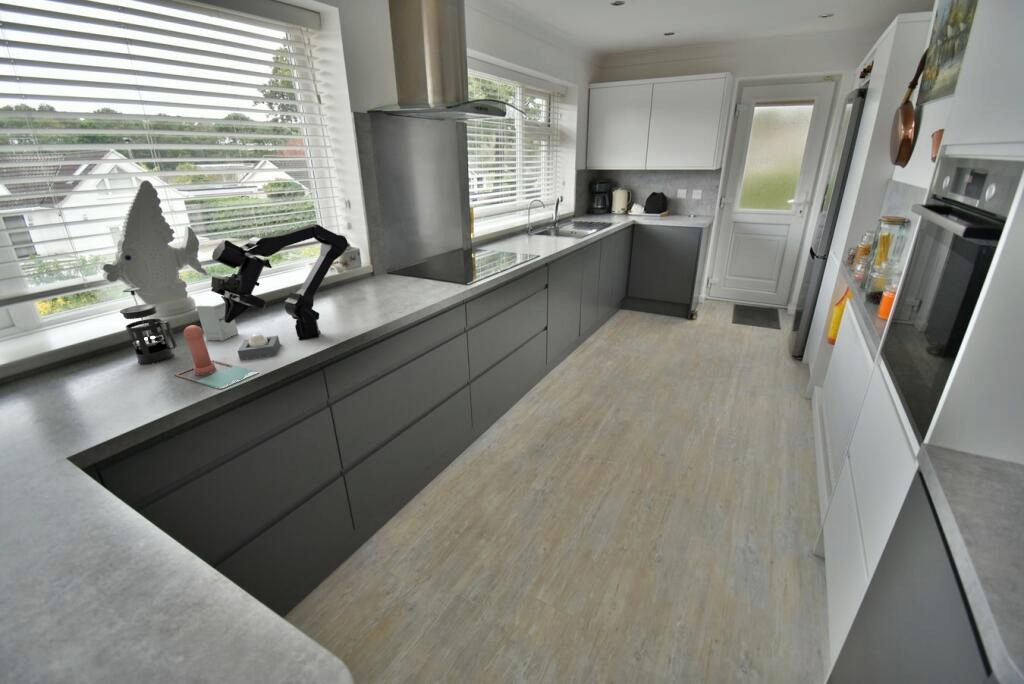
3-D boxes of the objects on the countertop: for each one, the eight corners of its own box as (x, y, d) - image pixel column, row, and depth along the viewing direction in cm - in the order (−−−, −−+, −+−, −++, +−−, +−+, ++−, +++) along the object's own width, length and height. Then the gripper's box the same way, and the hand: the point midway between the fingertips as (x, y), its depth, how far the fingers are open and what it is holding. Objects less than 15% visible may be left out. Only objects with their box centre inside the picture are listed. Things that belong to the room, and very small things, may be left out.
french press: (129, 366, 140) (101, 294, 132) (144, 355, 149) (118, 286, 140) (173, 361, 143) (148, 290, 134) (184, 350, 151) (162, 282, 143)
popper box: (280, 343, 153) (277, 335, 152) (275, 354, 144) (272, 346, 143) (247, 348, 151) (244, 339, 150) (240, 359, 142) (237, 351, 141)
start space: (213, 360, 142) (213, 360, 142) (235, 366, 137) (235, 365, 137) (174, 375, 133) (174, 374, 133) (197, 382, 128) (196, 381, 128)
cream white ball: (270, 344, 150) (266, 330, 148) (267, 350, 145) (263, 335, 144) (252, 346, 149) (248, 332, 147) (249, 352, 144) (245, 338, 142)
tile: (234, 367, 137) (234, 365, 137) (258, 373, 132) (257, 371, 132) (197, 382, 128) (196, 380, 128) (220, 389, 123) (220, 388, 123)
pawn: (217, 366, 138) (204, 321, 132) (213, 373, 133) (198, 327, 128) (198, 369, 136) (183, 324, 131) (192, 376, 132) (177, 329, 126)
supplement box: (223, 341, 158) (213, 306, 153) (205, 340, 159) (194, 305, 155) (239, 333, 165) (230, 299, 160) (221, 332, 166) (212, 299, 161)
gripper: (205, 259, 137) (182, 307, 134) (242, 269, 128) (218, 320, 126) (239, 274, 146) (219, 319, 144) (275, 284, 138) (254, 332, 135)
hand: (226, 322), depth 137 cm, fingers closed
